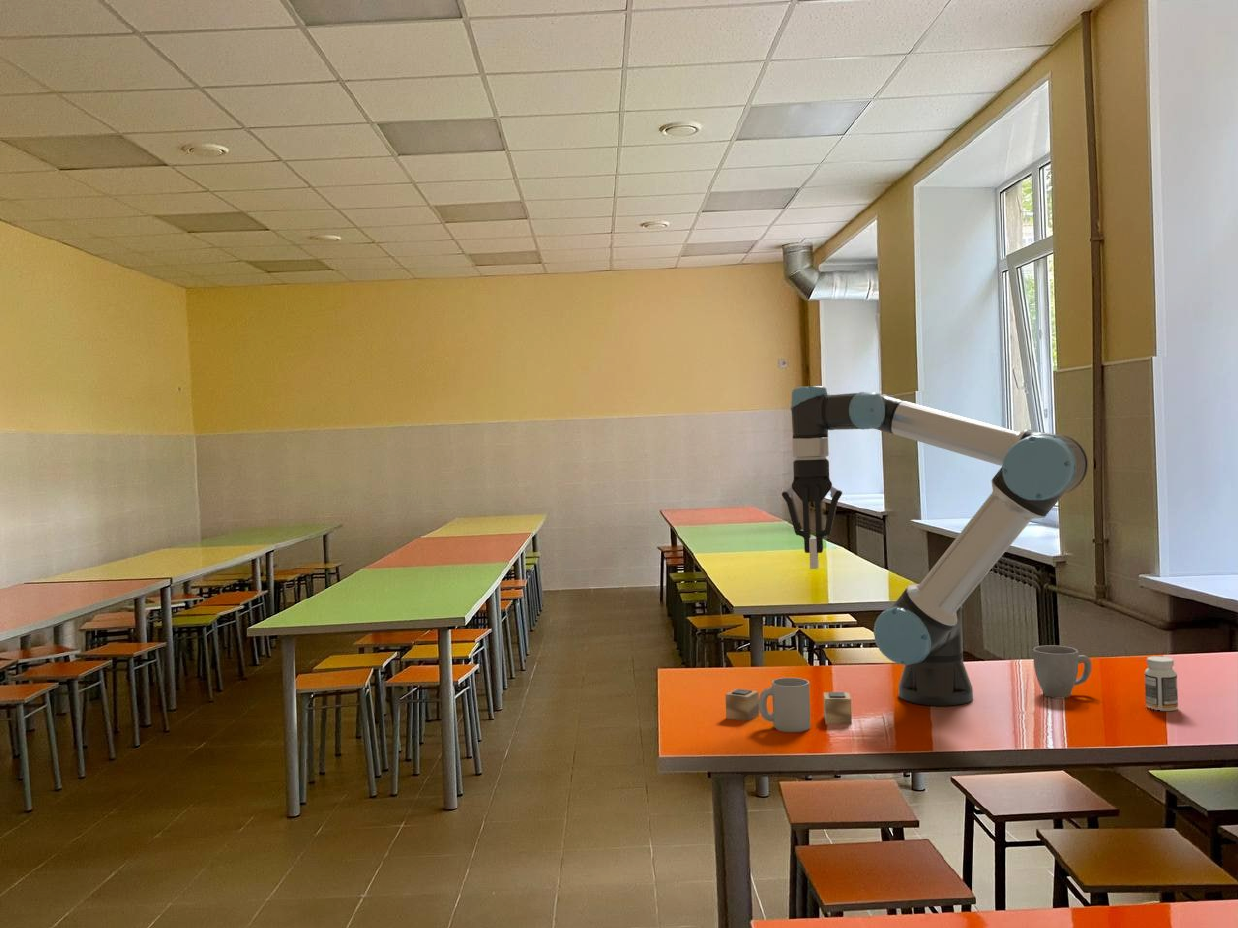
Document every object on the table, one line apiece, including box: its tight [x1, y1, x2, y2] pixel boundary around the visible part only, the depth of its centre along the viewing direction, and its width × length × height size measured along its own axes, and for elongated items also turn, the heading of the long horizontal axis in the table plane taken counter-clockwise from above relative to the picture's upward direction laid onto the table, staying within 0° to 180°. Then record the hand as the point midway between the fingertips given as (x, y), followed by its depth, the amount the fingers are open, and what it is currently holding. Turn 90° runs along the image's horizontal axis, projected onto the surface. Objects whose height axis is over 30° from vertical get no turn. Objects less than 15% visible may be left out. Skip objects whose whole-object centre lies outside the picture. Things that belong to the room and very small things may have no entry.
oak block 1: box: [725, 688, 760, 722], centre depth 202 cm, size 5×5×5 cm
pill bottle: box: [1144, 655, 1179, 712], centre depth 197 cm, size 6×6×10 cm
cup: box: [758, 677, 811, 733], centre depth 193 cm, size 7×10×9 cm
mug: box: [1032, 644, 1093, 699], centre depth 210 cm, size 12×9×10 cm
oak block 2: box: [823, 691, 853, 725], centre depth 197 cm, size 5×5×5 cm
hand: (814, 568), depth 212 cm, fingers closed
